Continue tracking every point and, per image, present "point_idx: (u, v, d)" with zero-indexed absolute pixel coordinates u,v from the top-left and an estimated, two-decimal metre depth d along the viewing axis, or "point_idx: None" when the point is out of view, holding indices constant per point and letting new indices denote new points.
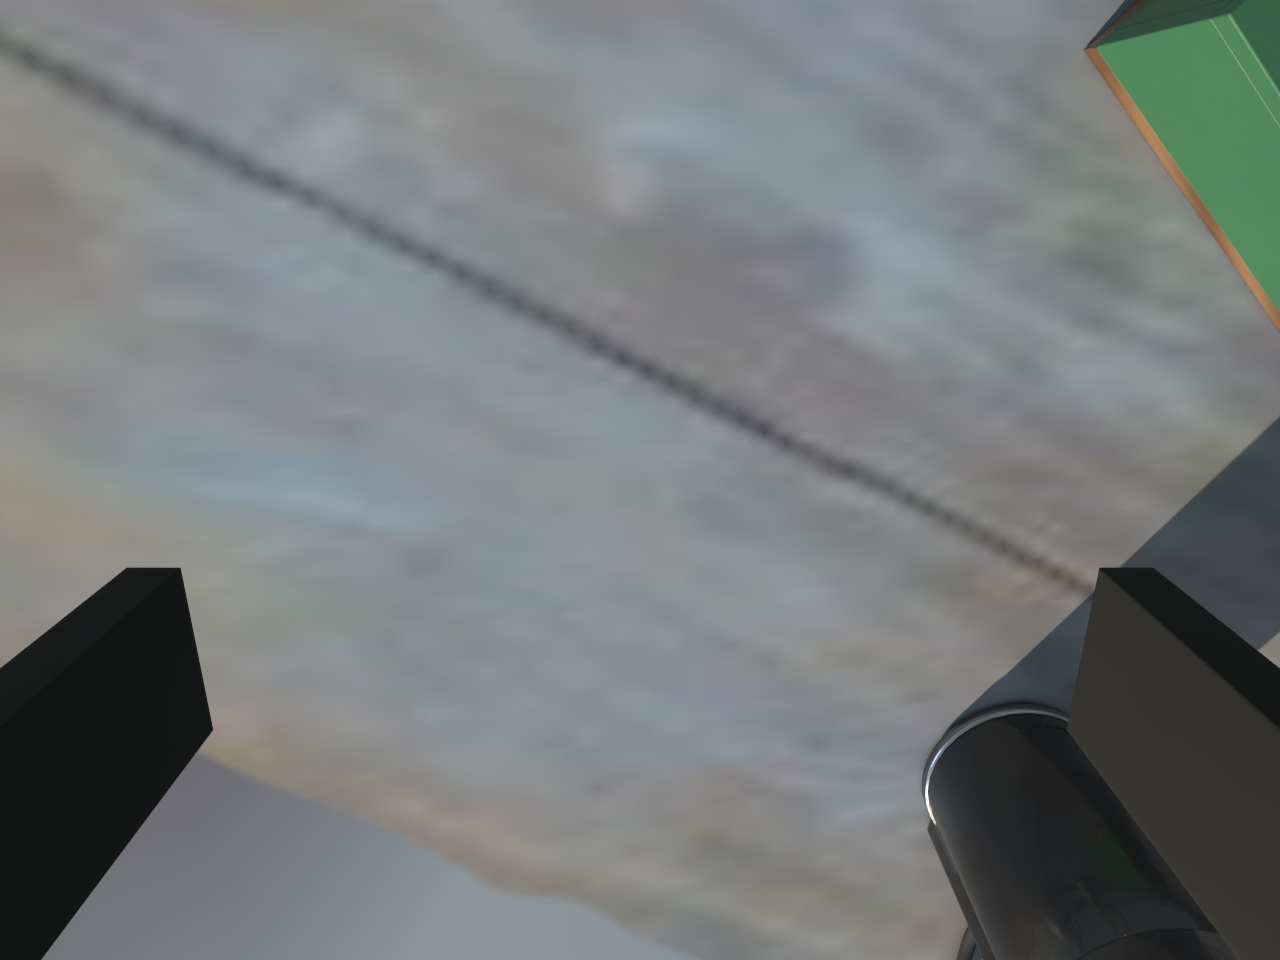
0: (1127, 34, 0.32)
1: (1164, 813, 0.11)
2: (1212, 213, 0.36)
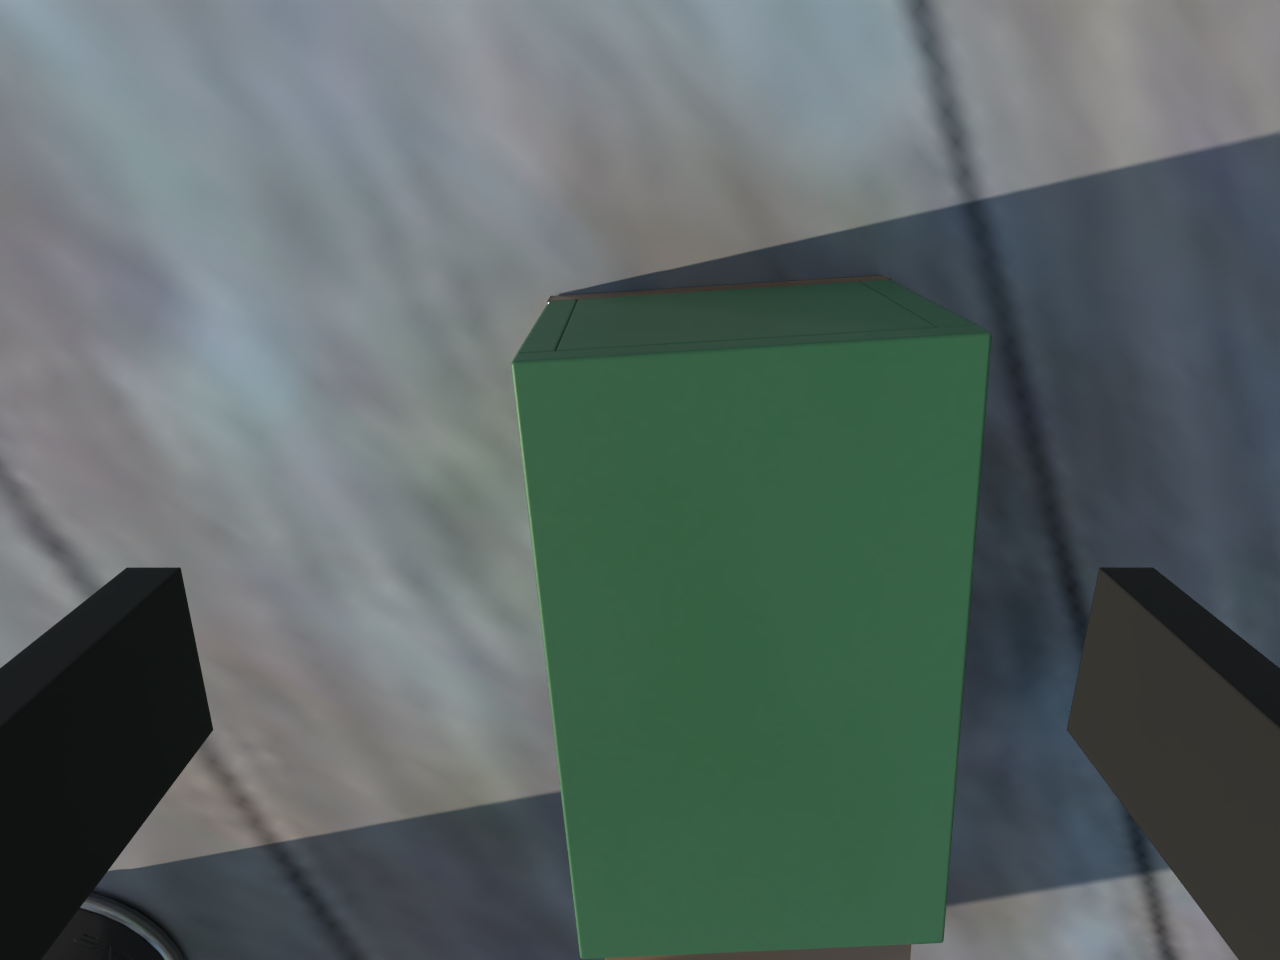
0: (551, 311, 0.25)
1: (1164, 813, 0.11)
2: None
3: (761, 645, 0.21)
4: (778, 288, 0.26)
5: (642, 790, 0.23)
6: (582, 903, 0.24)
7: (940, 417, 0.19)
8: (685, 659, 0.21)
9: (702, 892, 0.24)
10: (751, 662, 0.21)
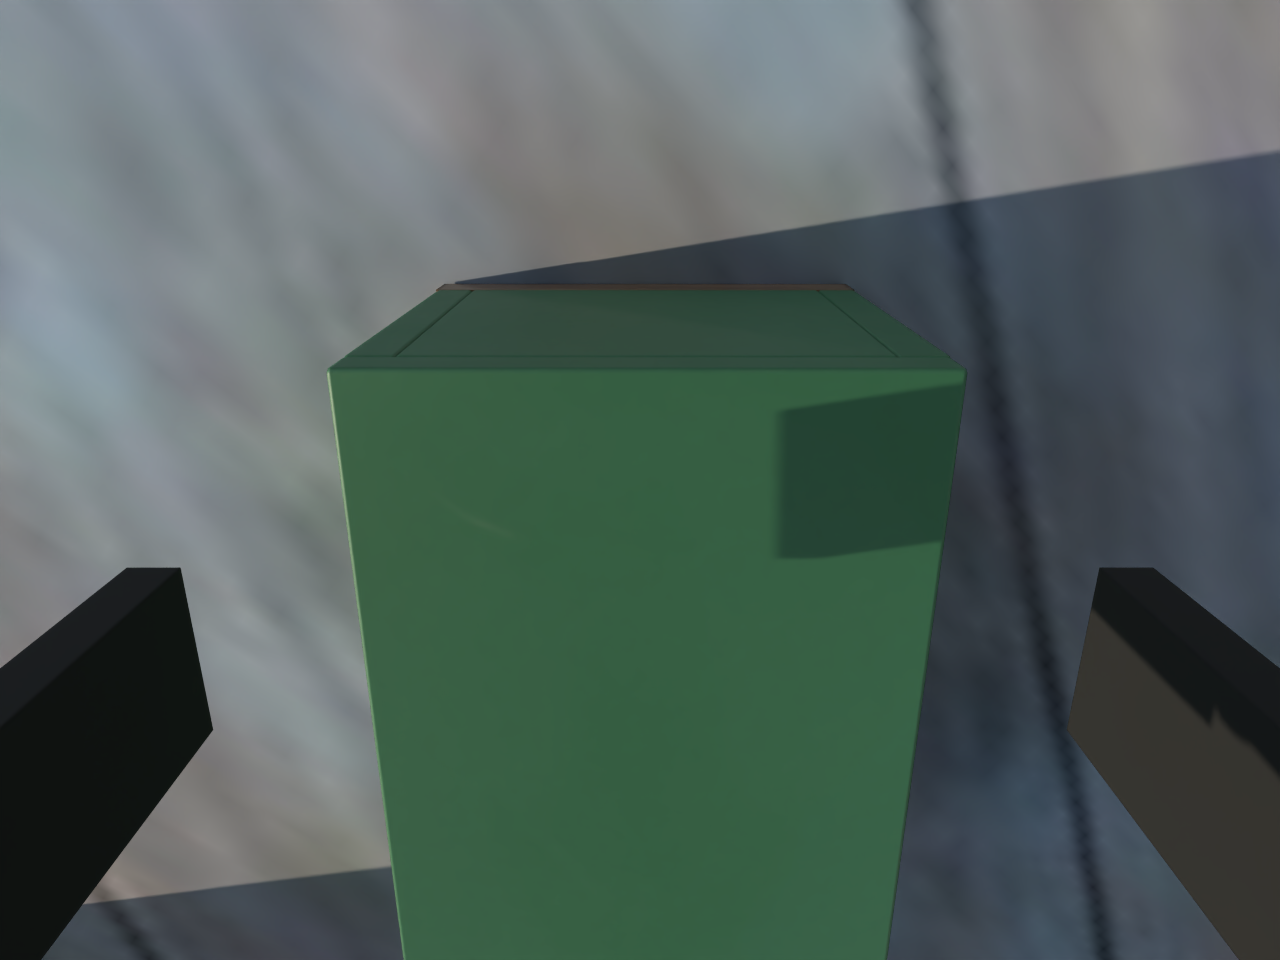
0: (431, 302, 0.20)
1: (1162, 812, 0.11)
2: None
3: (652, 748, 0.17)
4: (717, 292, 0.21)
5: (499, 913, 0.18)
6: None
7: (894, 475, 0.15)
8: (555, 759, 0.17)
9: None
10: (638, 767, 0.17)
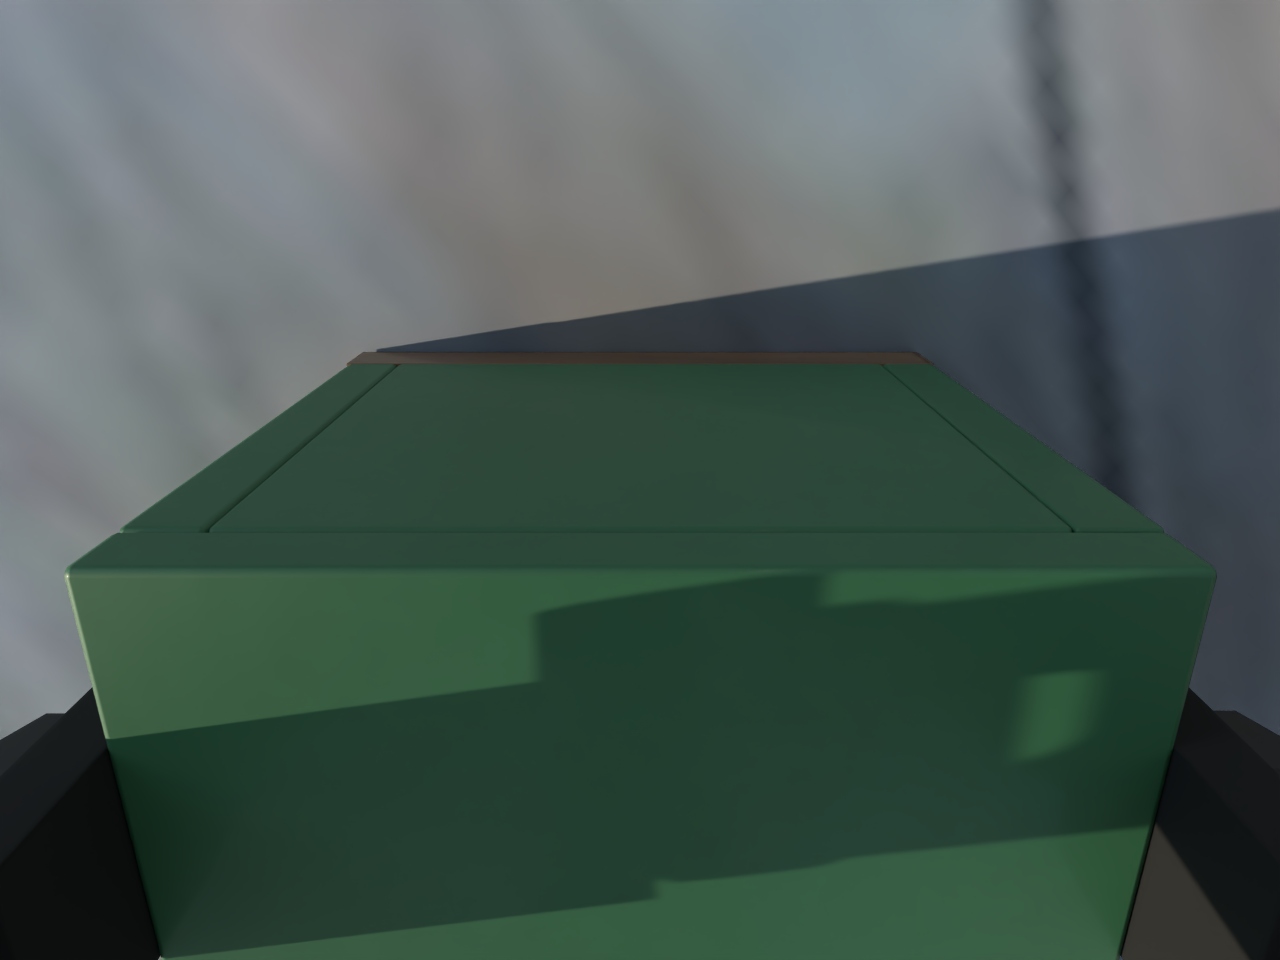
0: (328, 390, 0.14)
1: None
2: None
3: None
4: (741, 368, 0.15)
5: None
6: None
7: (1073, 740, 0.08)
8: None
9: None
10: None
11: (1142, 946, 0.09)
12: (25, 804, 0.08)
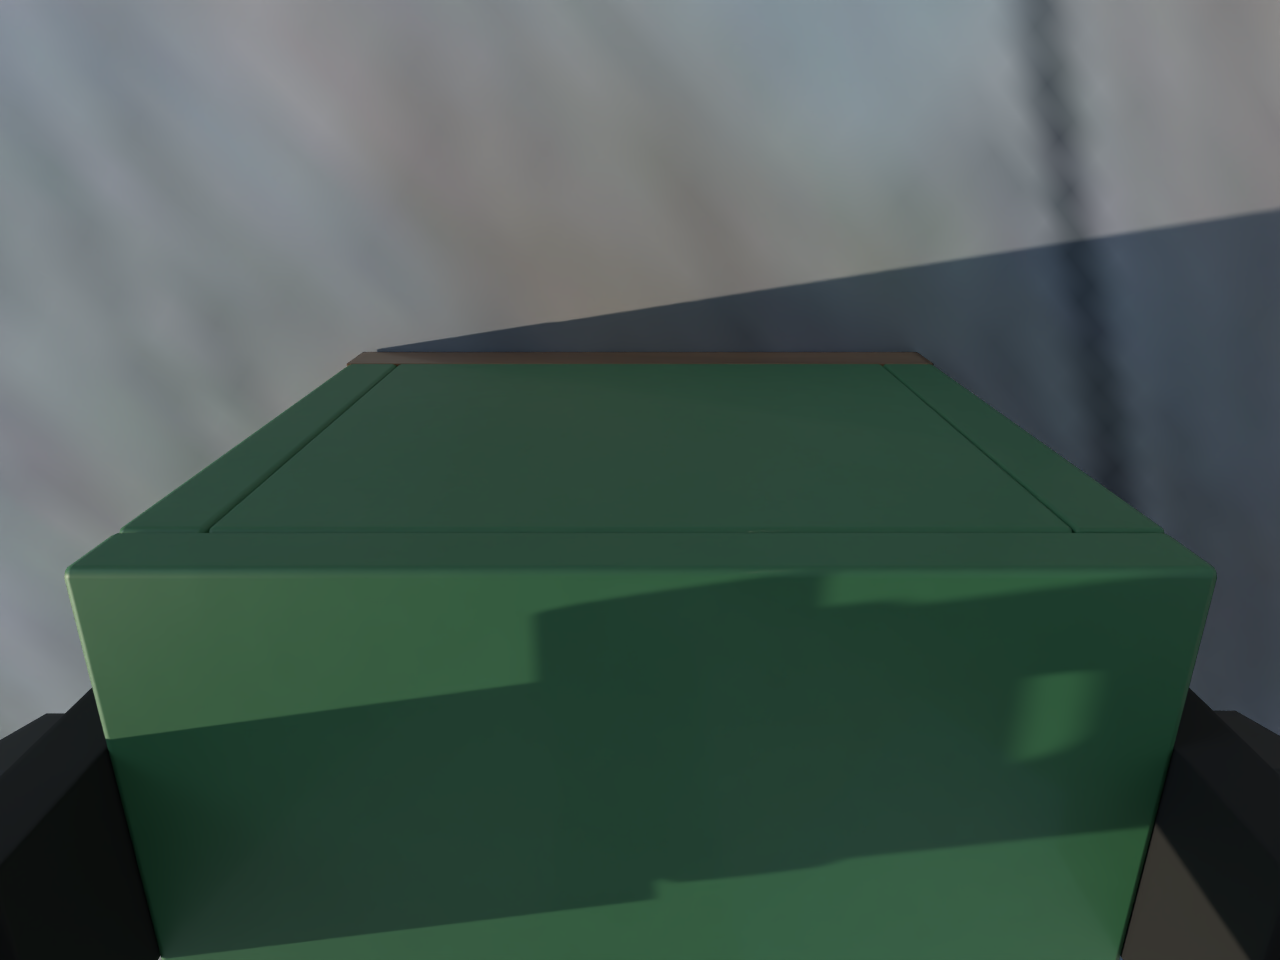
0: (328, 391, 0.14)
1: None
2: None
3: None
4: (741, 368, 0.15)
5: None
6: None
7: (1073, 741, 0.08)
8: None
9: None
10: None
11: (1142, 946, 0.09)
12: (25, 804, 0.08)
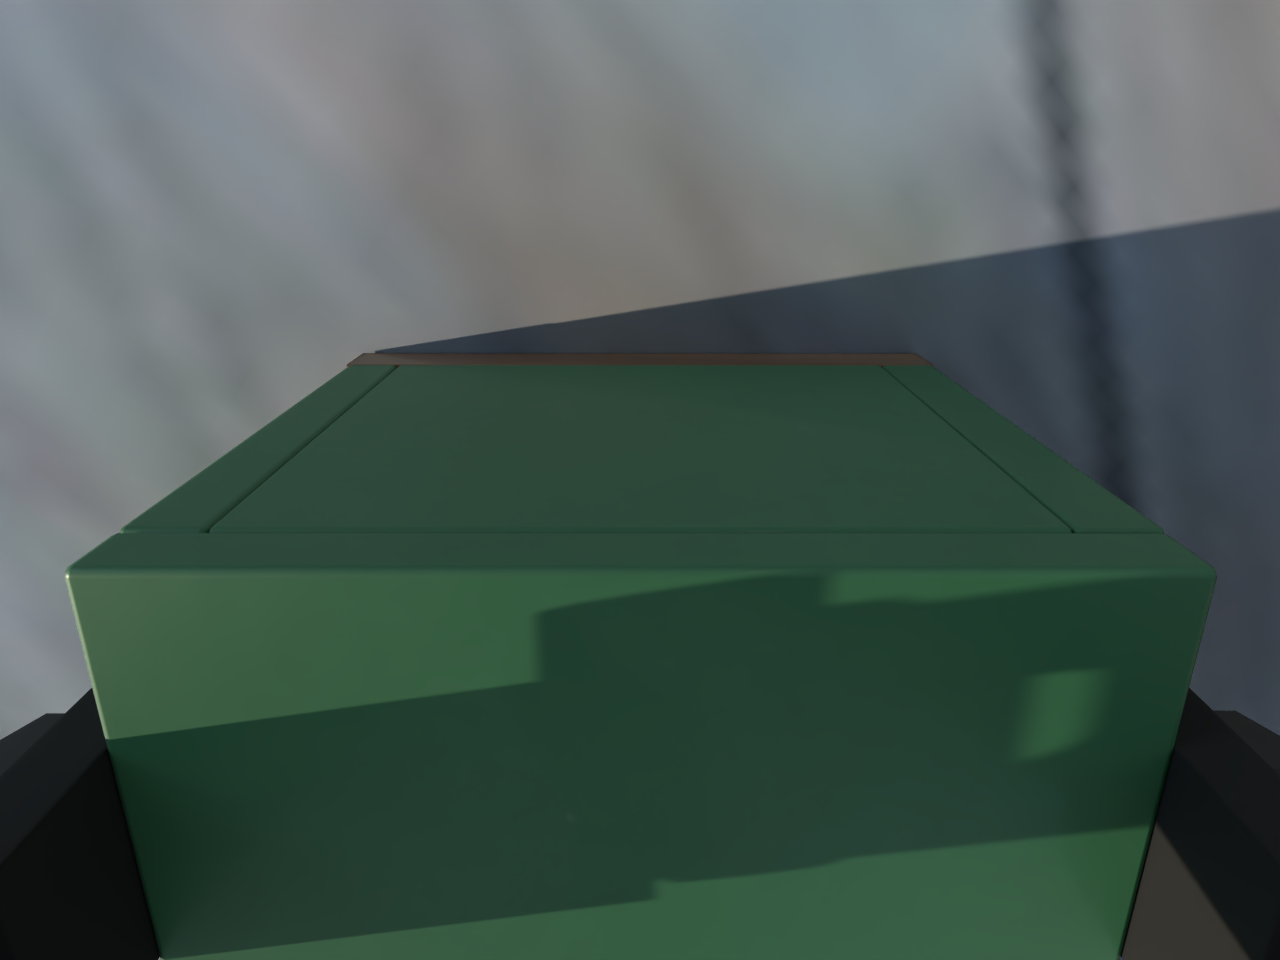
0: (328, 391, 0.14)
1: None
2: None
3: None
4: (741, 370, 0.15)
5: None
6: None
7: (1073, 741, 0.08)
8: None
9: None
10: None
11: (1141, 946, 0.09)
12: (26, 804, 0.08)
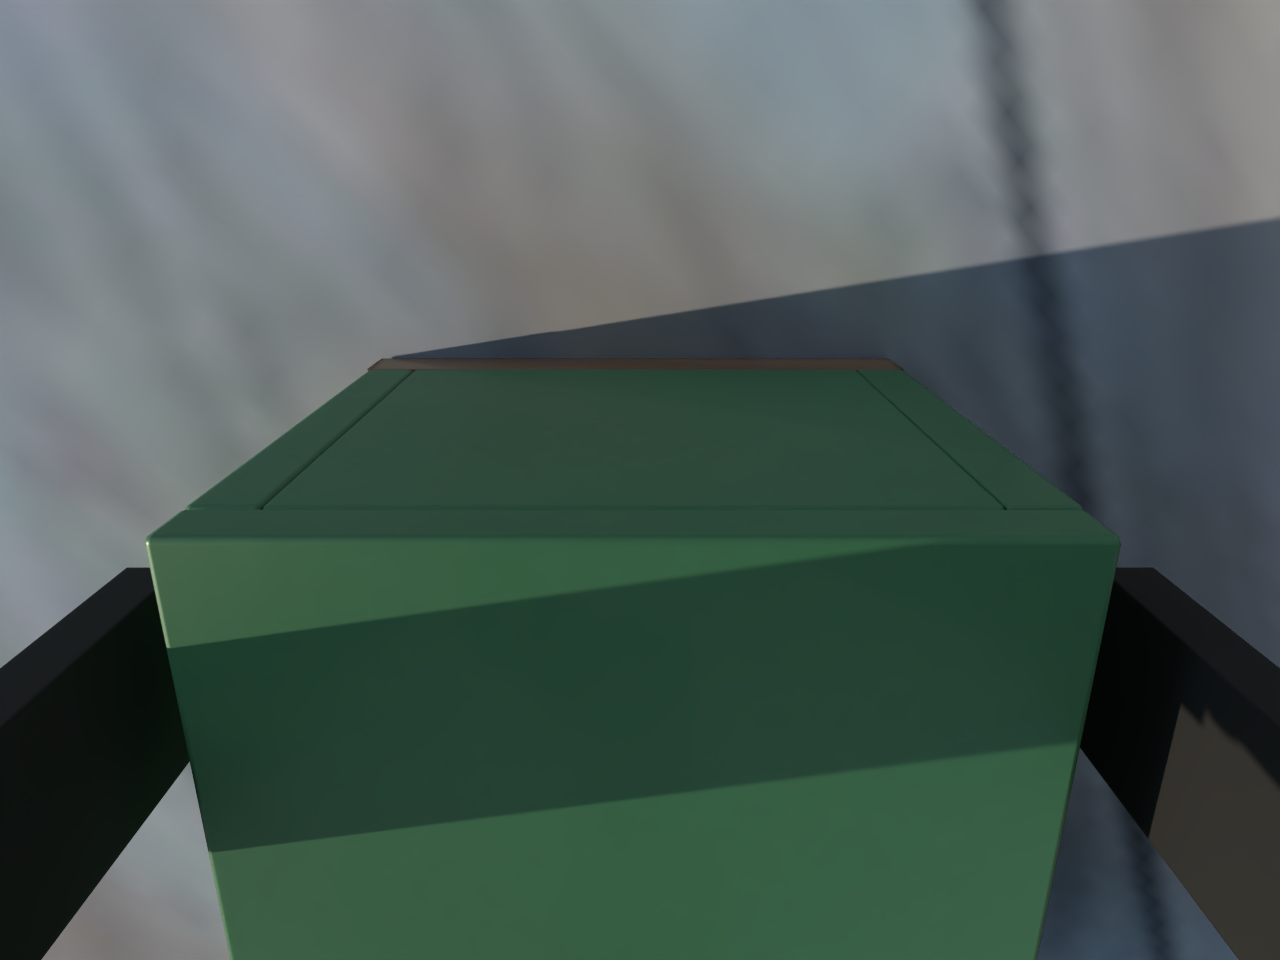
0: (353, 393, 0.15)
1: (1163, 812, 0.11)
2: None
3: None
4: (728, 373, 0.17)
5: None
6: None
7: (1004, 687, 0.10)
8: None
9: None
10: None
11: None
12: None
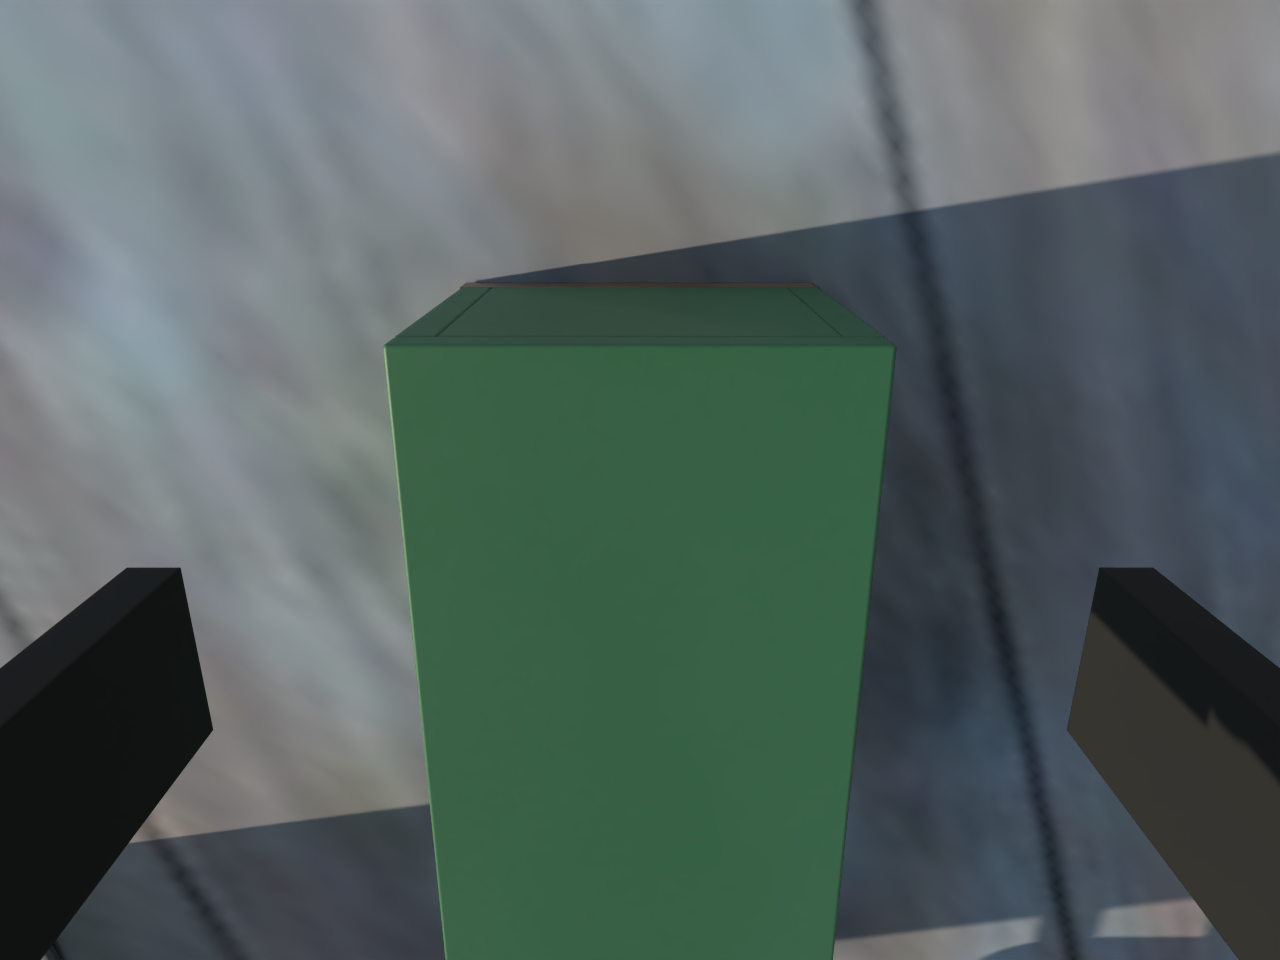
0: (458, 297, 0.23)
1: (1163, 812, 0.11)
2: None
3: (645, 663, 0.20)
4: (701, 289, 0.25)
5: (516, 809, 0.22)
6: (450, 925, 0.23)
7: (840, 432, 0.18)
8: (564, 673, 0.20)
9: (578, 920, 0.23)
10: (634, 680, 0.20)
11: None
12: None
